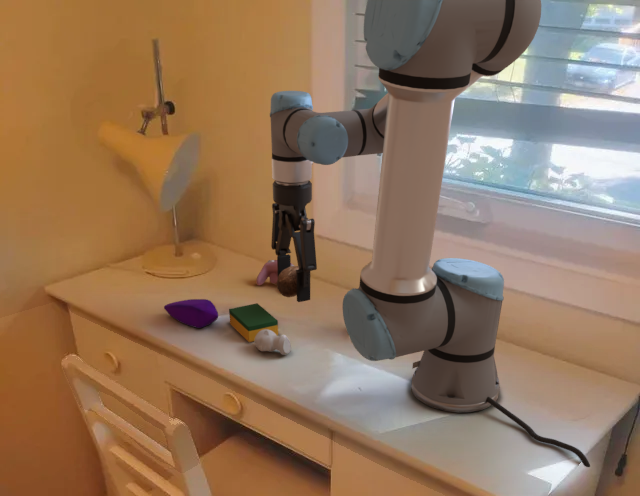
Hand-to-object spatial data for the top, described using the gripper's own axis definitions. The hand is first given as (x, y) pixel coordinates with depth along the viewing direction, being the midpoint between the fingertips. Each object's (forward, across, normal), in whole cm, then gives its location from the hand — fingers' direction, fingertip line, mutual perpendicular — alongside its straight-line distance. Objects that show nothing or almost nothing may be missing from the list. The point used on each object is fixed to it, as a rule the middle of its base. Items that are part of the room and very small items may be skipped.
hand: (293, 292), depth 148 cm
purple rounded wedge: (+7, +10, +19) cm, 23 cm away
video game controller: (+7, +19, -6) cm, 21 cm away
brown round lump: (0, 0, 0) cm, 0 cm away
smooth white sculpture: (+6, -11, +10) cm, 16 cm away
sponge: (+6, 0, +10) cm, 11 cm away
